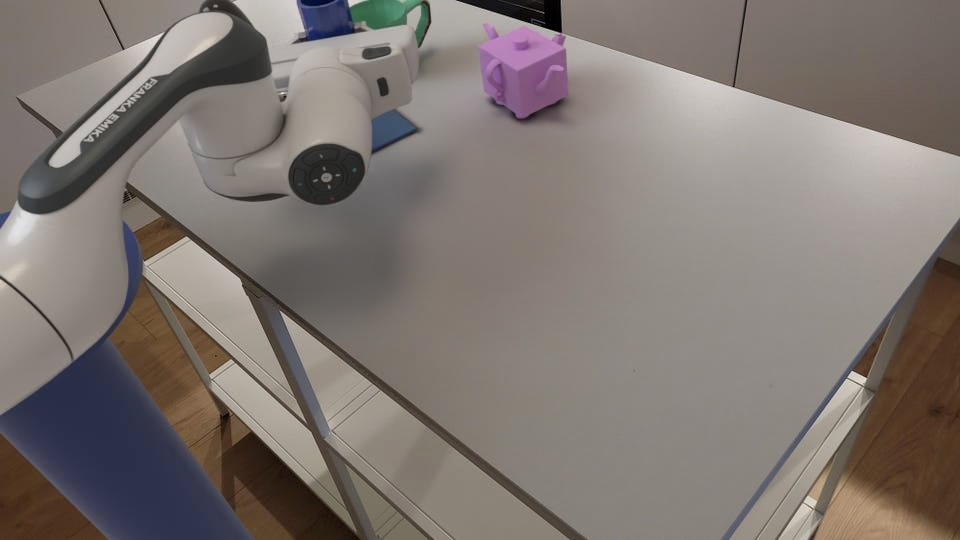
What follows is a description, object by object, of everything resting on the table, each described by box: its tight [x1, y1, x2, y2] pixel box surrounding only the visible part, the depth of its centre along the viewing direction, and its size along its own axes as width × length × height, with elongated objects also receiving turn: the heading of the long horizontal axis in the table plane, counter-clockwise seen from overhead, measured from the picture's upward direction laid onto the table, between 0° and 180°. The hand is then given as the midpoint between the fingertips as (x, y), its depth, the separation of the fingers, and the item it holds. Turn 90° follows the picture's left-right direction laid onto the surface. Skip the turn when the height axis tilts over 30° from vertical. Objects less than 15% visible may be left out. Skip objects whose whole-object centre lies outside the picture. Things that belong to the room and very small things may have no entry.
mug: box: [349, 0, 432, 50], centre depth 115 cm, size 15×10×10 cm
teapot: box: [477, 22, 569, 119], centre depth 104 cm, size 18×13×10 cm
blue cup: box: [295, 0, 355, 41], centre depth 92 cm, size 6×6×11 cm
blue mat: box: [371, 109, 418, 153], centre depth 107 cm, size 10×10×1 cm
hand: (332, 32), depth 92 cm, fingers closed on blue cup, 6 cm apart
